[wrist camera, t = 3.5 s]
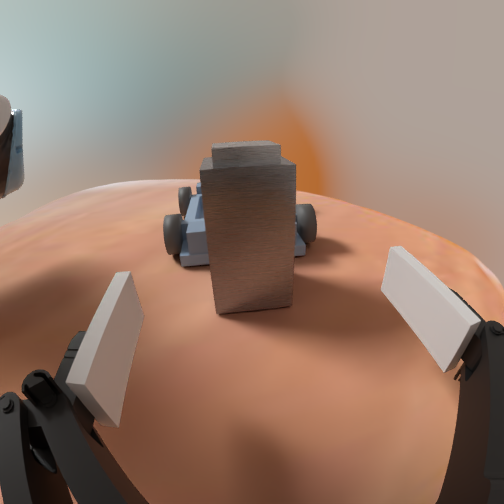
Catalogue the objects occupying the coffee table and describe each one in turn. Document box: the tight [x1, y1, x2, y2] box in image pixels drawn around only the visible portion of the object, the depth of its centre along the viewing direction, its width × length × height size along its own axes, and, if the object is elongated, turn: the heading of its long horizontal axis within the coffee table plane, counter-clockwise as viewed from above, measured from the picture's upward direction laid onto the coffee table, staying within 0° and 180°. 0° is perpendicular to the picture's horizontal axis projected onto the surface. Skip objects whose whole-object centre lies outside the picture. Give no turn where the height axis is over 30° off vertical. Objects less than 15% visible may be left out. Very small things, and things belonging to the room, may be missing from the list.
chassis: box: [163, 183, 317, 266], centre depth 36 cm, size 16×20×4 cm
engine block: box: [200, 141, 296, 314], centre depth 21 cm, size 6×6×12 cm
